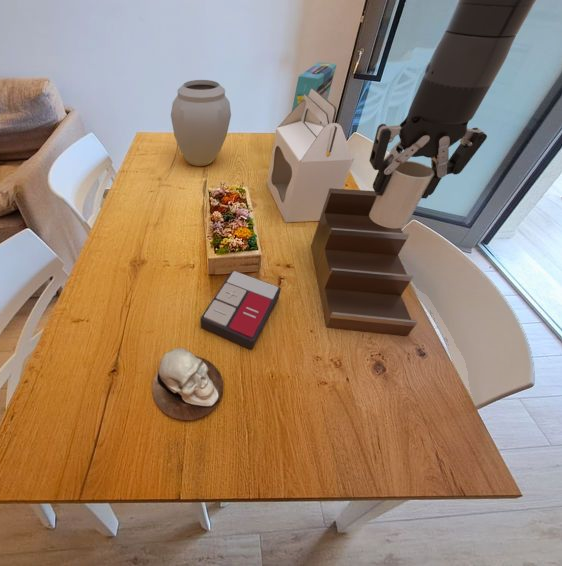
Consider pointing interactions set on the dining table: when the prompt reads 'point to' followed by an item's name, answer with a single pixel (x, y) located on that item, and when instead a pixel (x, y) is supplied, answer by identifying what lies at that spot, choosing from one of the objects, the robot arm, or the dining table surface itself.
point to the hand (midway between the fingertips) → (399, 194)
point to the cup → (401, 195)
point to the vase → (200, 120)
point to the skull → (186, 385)
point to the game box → (314, 82)
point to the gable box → (308, 159)
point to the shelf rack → (360, 267)
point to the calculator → (240, 309)
